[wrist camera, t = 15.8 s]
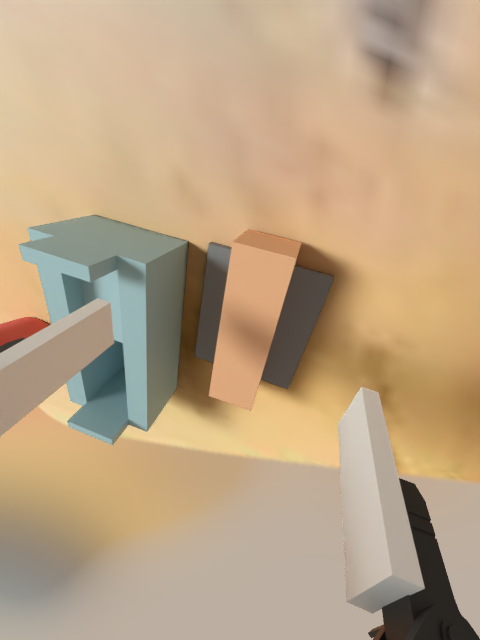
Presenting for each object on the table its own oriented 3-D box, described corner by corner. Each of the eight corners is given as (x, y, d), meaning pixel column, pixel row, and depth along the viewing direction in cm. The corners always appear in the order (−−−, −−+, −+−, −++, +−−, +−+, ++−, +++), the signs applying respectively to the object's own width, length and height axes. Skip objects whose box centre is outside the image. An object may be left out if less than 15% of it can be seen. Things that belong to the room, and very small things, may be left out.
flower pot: (88, 342, 32) (7, 401, 24) (70, 386, 38) (1, 445, 30) (13, 288, 31) (-98, 330, 23) (7, 342, 37) (-83, 390, 29)
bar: (248, 229, 19) (232, 241, 16) (301, 242, 19) (296, 258, 15) (223, 367, 27) (208, 395, 23) (260, 380, 26) (250, 410, 23)
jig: (94, 214, 23) (-11, 235, 16) (188, 241, 22) (120, 276, 15) (111, 364, 33) (50, 419, 25) (176, 388, 31) (132, 453, 24)
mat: (211, 241, 21) (208, 243, 21) (333, 276, 20) (333, 279, 19) (197, 353, 28) (194, 356, 27) (288, 385, 26) (287, 389, 26)
